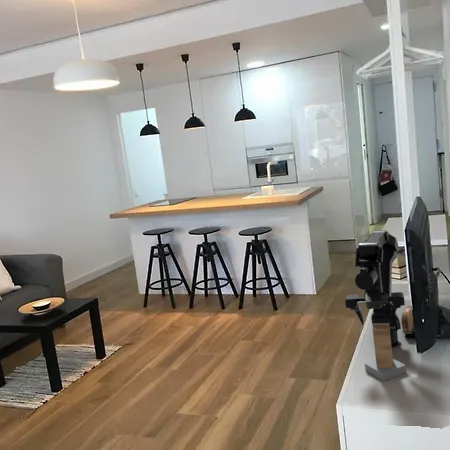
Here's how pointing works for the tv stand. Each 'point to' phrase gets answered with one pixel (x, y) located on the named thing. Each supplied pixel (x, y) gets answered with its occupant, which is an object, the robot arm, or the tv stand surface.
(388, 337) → the walnut block
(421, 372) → the tv stand surface
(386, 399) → the tv stand surface
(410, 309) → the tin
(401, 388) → the tv stand surface
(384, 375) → the grey block
